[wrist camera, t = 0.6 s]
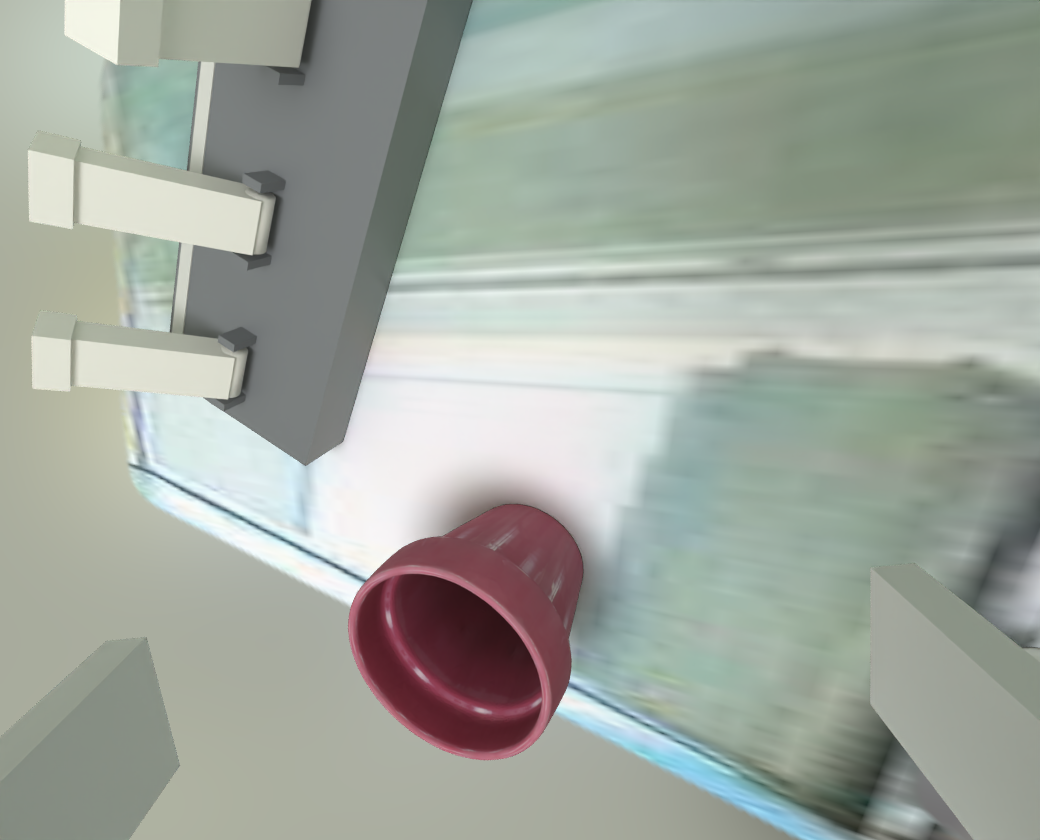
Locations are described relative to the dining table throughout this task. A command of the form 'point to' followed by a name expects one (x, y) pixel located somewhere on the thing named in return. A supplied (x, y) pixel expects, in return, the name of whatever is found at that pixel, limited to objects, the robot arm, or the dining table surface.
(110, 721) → the robot arm
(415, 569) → the plant pot
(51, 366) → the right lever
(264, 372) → the breaker panel
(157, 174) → the middle lever
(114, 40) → the lever
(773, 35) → the dining table surface
